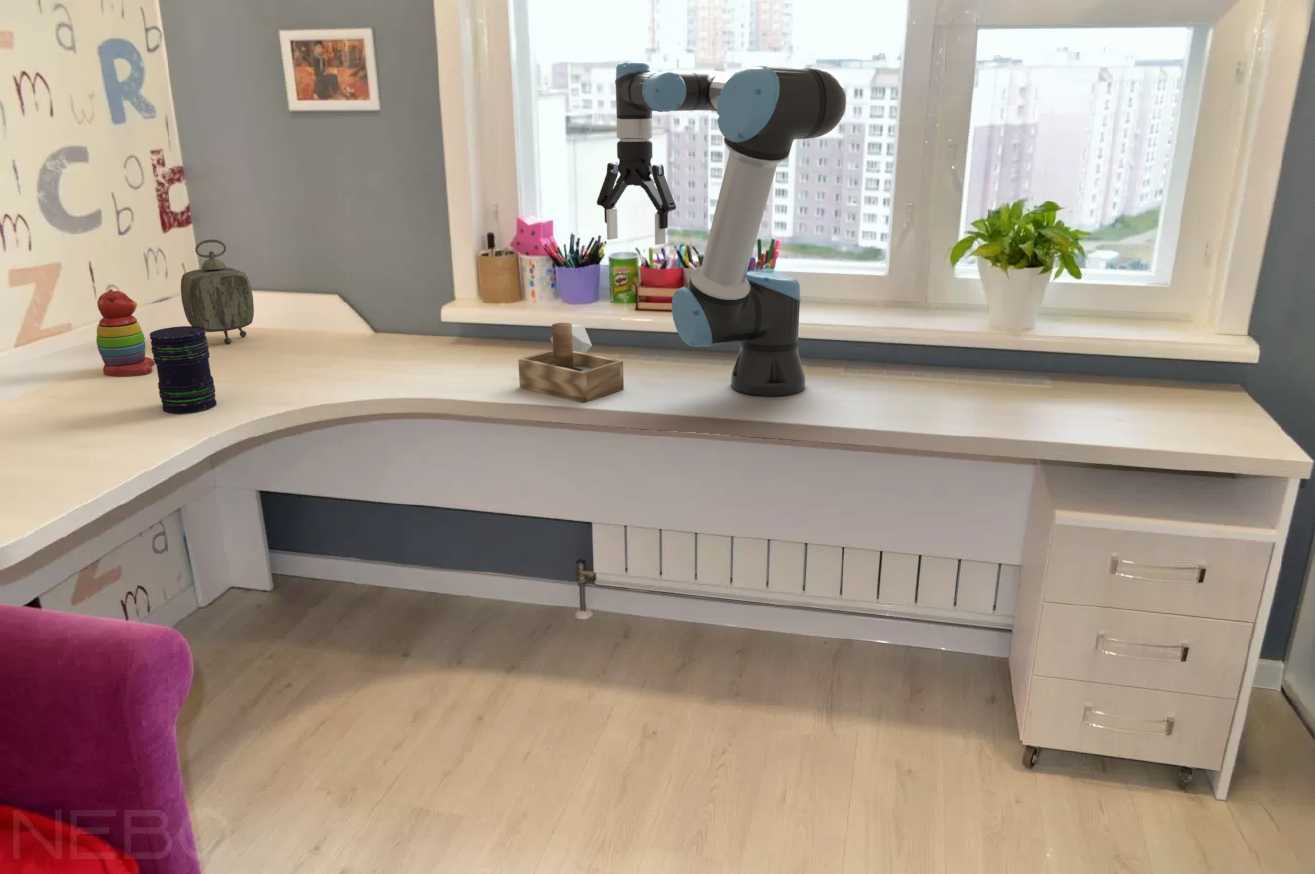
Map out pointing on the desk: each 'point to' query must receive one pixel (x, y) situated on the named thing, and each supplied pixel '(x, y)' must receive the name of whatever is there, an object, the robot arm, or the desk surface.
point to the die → (579, 339)
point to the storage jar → (183, 369)
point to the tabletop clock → (217, 296)
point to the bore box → (572, 376)
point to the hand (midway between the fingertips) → (635, 241)
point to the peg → (562, 345)
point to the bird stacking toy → (121, 337)
